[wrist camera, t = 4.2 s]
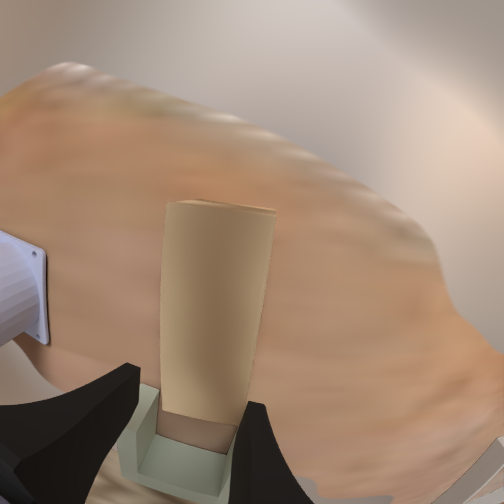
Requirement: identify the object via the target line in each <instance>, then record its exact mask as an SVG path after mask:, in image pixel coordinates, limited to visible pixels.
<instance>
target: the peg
mask: <svg viewBox="0 0 504 504" xmlns="http://www.w3.org/2000/svg"><path fill="white" fill-rule="evenodd" d="M275 223H276V211H275V209H270V208H263V207H256V206H249V205H242V204H234V203H226V202H218V201H210V200H202V199H197V200H187V201H178V202H170V203H166V213H165V224H164V236H163V251H162V268H161V293H160V367H161V391H162V407H163V410H164V411H168V412H172V413H176V414H180V415H184V416H188V417H192V418H197V419H201V420H206V421H211V422H217V423H222V424H228V425H234V426H239V425H240V422H241V420H242V417H243V414H244V411H245V406H246V400H247V395H248V389H249V383H250V378H251V372H252V366H253V361H254V355H255V349H256V343H257V337H258V331H259V325H260V319H261V313H262V307H263V301H264V295H265V288H266V282H267V276H268V269H269V263H270V257H271V250H272V243H273V237H274V230H275Z"/></svg>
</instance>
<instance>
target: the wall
mask: <svg viewBox="0 0 504 504" xmlns="http://www.w3.org/2000/svg"><path fill="white" fill-rule="evenodd" d="M85 503H86V504H202V503H198V502H194V501H190V500H186V499H183V498H179V497H176V496H173V495H170V494H167V493H163V492H160V491H158V490H155V489H152V488H149V487H146V486H144V485H141V484H139V483H136V482H134V481H131V480H129V479H126V478H124V477H122V476H121V469H120V463H119V456H118V451H116V450H113V449H111V450H110V452H109V453H108V455H107V456H106V458H105V460H104V461H103V463H102V465H101V467H100V469H99V471H98V474H97V476H96V478H95V480H94V482H93V485H92V487H91V489H90V491H89V494H88V496H87V499H86V502H85Z"/></svg>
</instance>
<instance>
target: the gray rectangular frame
mask: <svg viewBox="0 0 504 504" xmlns="http://www.w3.org/2000/svg"><path fill="white" fill-rule="evenodd" d="M503 467H504V436H502V437H498V438H497V439H496V440H495V441H494V442H493V443H492V445H491V446H490V447H489V448H488V449H487V450H486V452H485V453H484V454H483V455H482V456H481V457H480V458H479V459H478V461H477V462H476V463H475V464H474V465H473V466H472V467H471V468H470V469H469V470H468V471H467V472H466V473H465V474H464V475H463V476H462V477H461V478H460V479H459V480H458V481H457V482H456V483H455V484H454V485H453V486H451V487H450V488H449V489H448V490H447V491H446V492H445V493H444V494H443V495H441V496H440V497H439V498H438V499H437V500H435V501H434V502H433V503H432V504H500V503H502V502H504V486H503V487H501V488H499V489H497V490H495V491H493V492H491V493H488V494H486V495H484V496H482V497H479V498H477V499H474V500H472V501H469V502H467V501H468V500H469V499H470V498H472V497H473V496H474V495H475V494H476V493H477V492H478V491H479V490H481V489H482V488H483V487H484V486H485V485H486V484H487V483H488V482H489V481H490V480H491V479H492V478H493V477H494V476H495V475H496V474H497V473H498V472H499V471H500V470H501V469H502V468H503ZM466 502H467V503H466Z"/></svg>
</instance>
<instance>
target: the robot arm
mask: <svg viewBox="0 0 504 504" xmlns="http://www.w3.org/2000/svg"><path fill="white" fill-rule="evenodd" d="M36 255H37V256H36ZM22 332H25V333H27V334H28V335H30V336H31V337H33V338H34V339H36V340H38V341H39V342H41V343H42V344H44V345H46V344H48V343H49V333H48V322H47V307H46V254H45V252H44V250H43V249H41V248H38V247H36V246H34V245H32V244H29V243H27V242H25V241H23V240H20V239H18V238H16V237H14V236H12V235H9V234H7V233H5V232H3V231H1V230H0V347H1V346H2V345H4V344H5V343H7V342H8V341H10V340H12V339H13V338H15V337H16V336H18V335H19V334H21V333H22ZM140 369H141V368H140V367H137V366H135V365H132V364H130V363H125V364H123V365H121V366H120V367H118V368H116V369H114V370H113V371H111V372H109V373H107V374H106V375H104V376H102V377H100V378H98V379H96V380H94V381H92V382H90V383H88V384H86V385H84V386H82V387H80V388H77V389H75V390H73V391H70V392H68V393H65V394H63V395H60V396H57V397H53V398H50V399H46V400H42V401H37V402H32V403H26V404H18V405H0V504H85V502H86V499H87V496H88V494H89V491H90V489H91V487H92V485H93V482H94V480H95V478H96V476H97V474H98V471H99V469H100V467H101V465H102V463H103V461H104V460H105V458H106V456H107V455H108V453H109V452H110V450H111V449H112V447H113V446H114V444H115V443H116V441H117V440H118V438H119V437H120V435H121V434H122V432H123V430H124V429H125V427H126V426H127V424H128V423H129V421H130V420H131V418H132V416H133V413H134V411H135V409H136V407H137V405H138V403H139V389H140ZM228 504H314V503H313V502H312V501H311V500H310V498H309V497H308V496H307V495H306V494H305V492H304V491H303V489H302V488H301V486H300V485H299V484H298V482H297V480H296V479H295V477H294V476H293V474H292V472H291V471H290V469H289V467H288V465H287V463H286V461H285V459H284V457H283V455H282V453H281V451H280V449H279V446H278V444H277V441H276V439H275V437H274V434H273V431H272V428H271V425H270V422H269V418H268V415H267V411H266V407H265V405H264V404H261V403H256V402H252V401H248V404H247V406H246V409H245V412H244V414H243V417H242V420H241V422H240V425H239V428H238V430H237V433H236V438H235V443H234V448H233V453H232V464H231V477H230V490H229V500H228Z"/></svg>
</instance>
